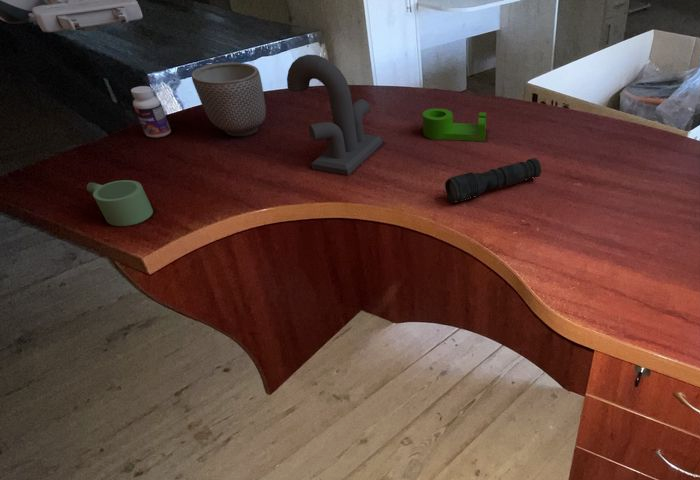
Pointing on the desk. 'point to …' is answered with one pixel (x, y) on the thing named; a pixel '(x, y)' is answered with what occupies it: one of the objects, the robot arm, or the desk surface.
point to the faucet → (335, 116)
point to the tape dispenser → (451, 126)
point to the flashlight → (490, 180)
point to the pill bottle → (150, 112)
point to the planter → (231, 96)
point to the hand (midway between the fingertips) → (100, 22)
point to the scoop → (122, 202)
